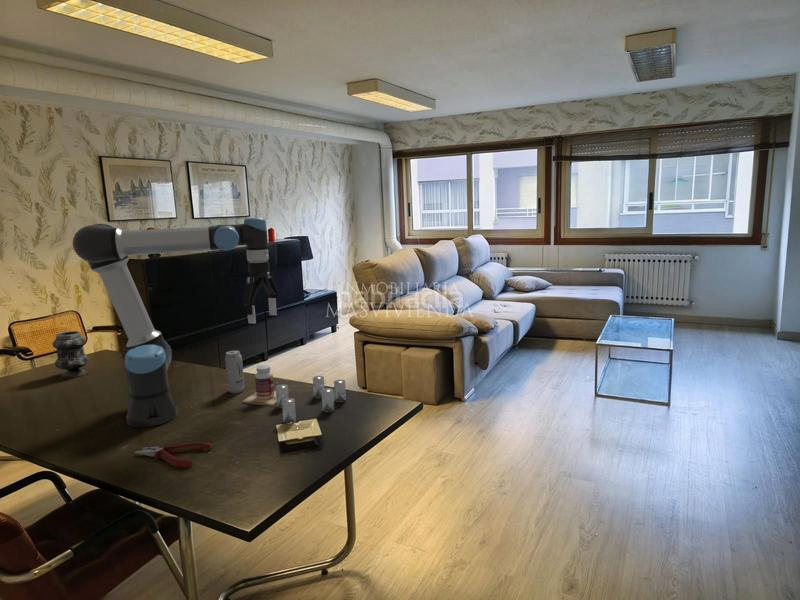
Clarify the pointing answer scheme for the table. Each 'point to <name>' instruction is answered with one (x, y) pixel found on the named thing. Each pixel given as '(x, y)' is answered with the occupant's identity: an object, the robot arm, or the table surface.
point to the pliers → (167, 450)
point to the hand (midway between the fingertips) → (263, 319)
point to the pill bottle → (264, 382)
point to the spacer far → (318, 385)
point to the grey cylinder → (339, 390)
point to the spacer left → (281, 394)
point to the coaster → (261, 400)
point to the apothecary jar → (70, 353)
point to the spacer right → (327, 399)
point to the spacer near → (289, 410)
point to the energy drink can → (234, 371)
